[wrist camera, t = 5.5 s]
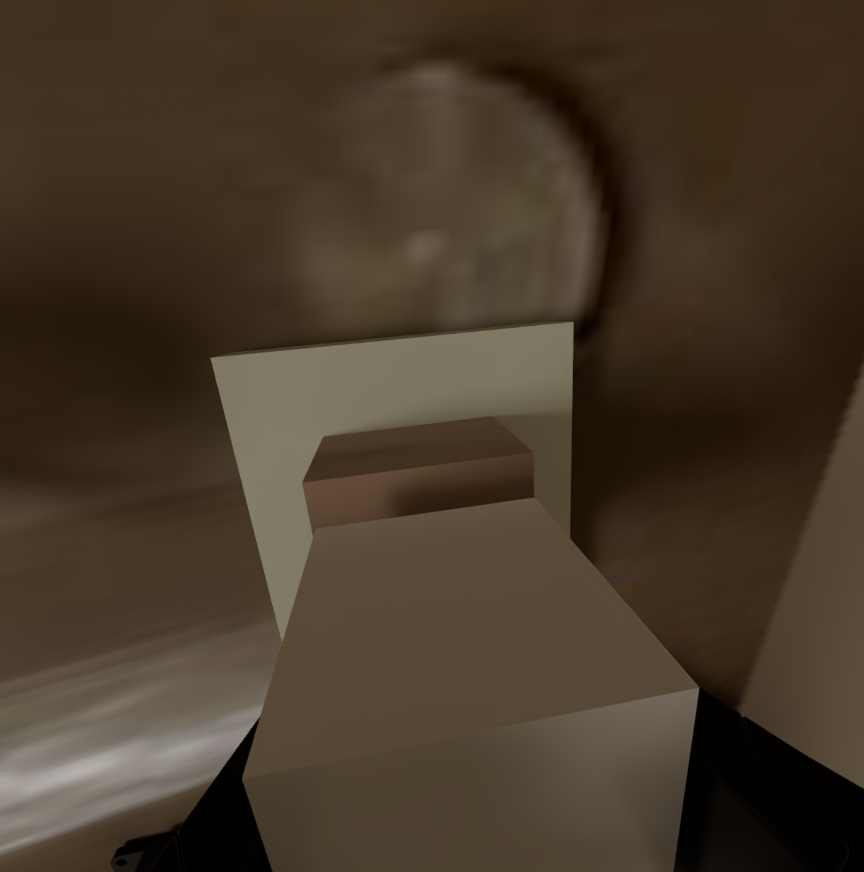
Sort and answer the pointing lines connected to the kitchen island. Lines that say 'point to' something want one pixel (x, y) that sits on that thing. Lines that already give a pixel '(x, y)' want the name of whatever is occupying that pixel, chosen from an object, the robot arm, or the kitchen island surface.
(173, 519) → the kitchen island surface
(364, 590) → the ceramic cube
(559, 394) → the base board
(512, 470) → the walnut block
